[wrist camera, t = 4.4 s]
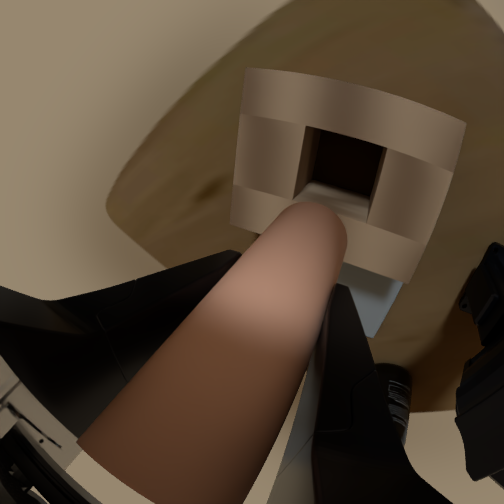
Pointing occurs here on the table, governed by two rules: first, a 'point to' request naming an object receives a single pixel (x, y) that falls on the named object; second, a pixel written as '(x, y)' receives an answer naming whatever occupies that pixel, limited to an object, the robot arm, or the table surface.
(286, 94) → the socket block
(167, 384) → the dowel
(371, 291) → the mat
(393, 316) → the table surface
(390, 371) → the supplement bottle
